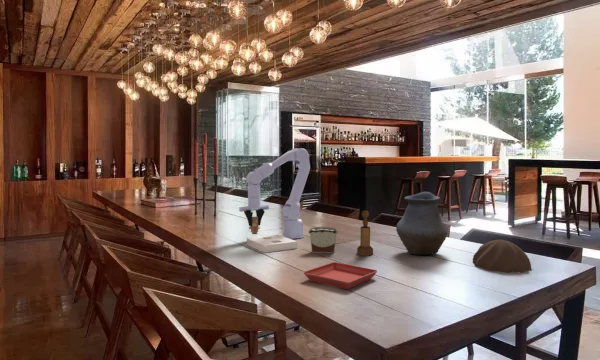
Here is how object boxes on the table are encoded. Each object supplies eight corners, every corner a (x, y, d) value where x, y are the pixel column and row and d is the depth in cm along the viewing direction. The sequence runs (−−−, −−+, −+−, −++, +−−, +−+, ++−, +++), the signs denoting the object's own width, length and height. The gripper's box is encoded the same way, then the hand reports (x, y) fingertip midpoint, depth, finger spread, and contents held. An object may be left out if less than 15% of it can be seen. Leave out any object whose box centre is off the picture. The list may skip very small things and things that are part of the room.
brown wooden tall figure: (372, 255, 173) (373, 211, 172) (356, 255, 174) (356, 211, 173) (373, 252, 180) (373, 209, 178) (357, 251, 181) (358, 209, 180)
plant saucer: (333, 270, 154) (333, 261, 154) (378, 279, 142) (378, 269, 142) (302, 282, 140) (302, 272, 140) (348, 293, 129) (348, 282, 128)
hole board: (278, 240, 203) (278, 234, 202) (297, 248, 187) (297, 241, 187) (246, 244, 194) (246, 238, 194) (264, 252, 179) (264, 245, 179)
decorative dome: (499, 275, 146) (500, 246, 145) (461, 261, 165) (461, 236, 164) (543, 271, 152) (545, 243, 151) (502, 257, 171) (502, 233, 170)
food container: (338, 249, 185) (338, 226, 184) (337, 252, 178) (337, 229, 178) (309, 249, 186) (309, 226, 185) (308, 252, 180) (308, 228, 179)
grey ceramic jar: (389, 255, 174) (390, 194, 172) (403, 245, 193) (404, 190, 191) (442, 261, 164) (443, 196, 162) (451, 250, 183) (452, 192, 182)
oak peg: (257, 232, 207) (257, 216, 207) (261, 234, 203) (261, 217, 202) (247, 233, 205) (247, 216, 204) (251, 235, 200) (251, 218, 200)
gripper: (264, 195, 210) (264, 223, 211) (236, 197, 202) (237, 225, 203) (270, 196, 204) (271, 225, 205) (242, 198, 196) (242, 228, 197)
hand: (254, 225), depth 204 cm, fingers closed on oak peg, 4 cm apart
